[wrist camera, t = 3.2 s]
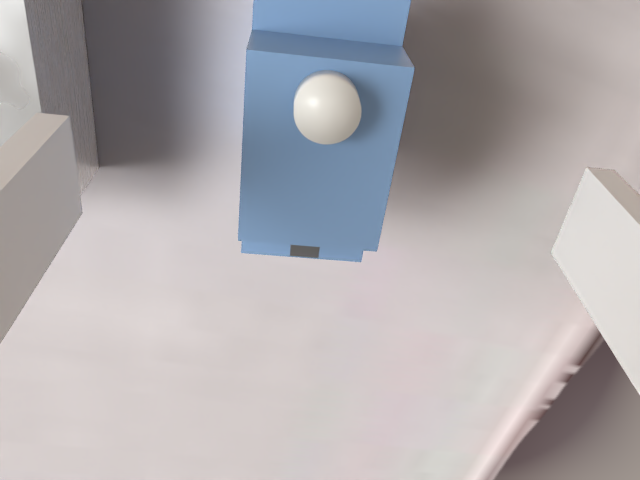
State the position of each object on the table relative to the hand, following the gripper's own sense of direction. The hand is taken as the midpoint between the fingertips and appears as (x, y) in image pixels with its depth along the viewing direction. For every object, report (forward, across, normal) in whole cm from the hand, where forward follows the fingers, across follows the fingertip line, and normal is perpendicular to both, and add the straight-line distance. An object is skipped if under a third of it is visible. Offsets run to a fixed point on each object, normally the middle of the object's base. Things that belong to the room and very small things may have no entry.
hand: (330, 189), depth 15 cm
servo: (+10, 0, 0) cm, 10 cm away
